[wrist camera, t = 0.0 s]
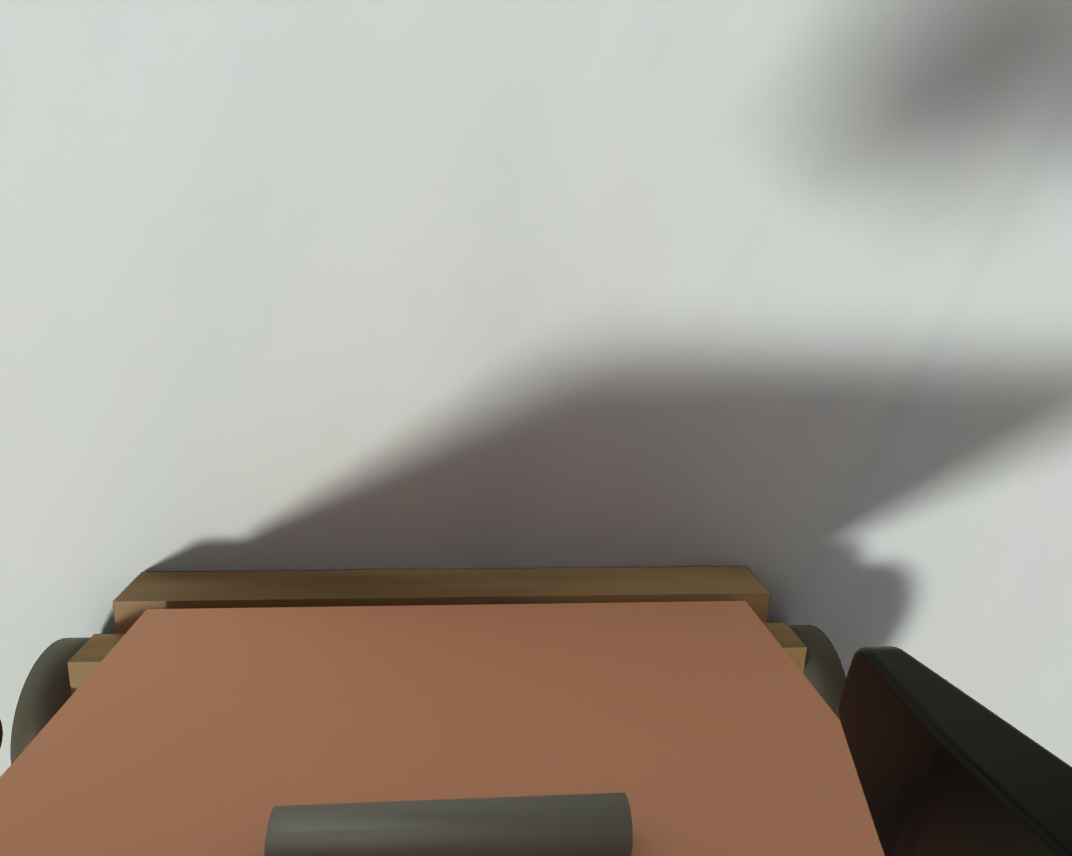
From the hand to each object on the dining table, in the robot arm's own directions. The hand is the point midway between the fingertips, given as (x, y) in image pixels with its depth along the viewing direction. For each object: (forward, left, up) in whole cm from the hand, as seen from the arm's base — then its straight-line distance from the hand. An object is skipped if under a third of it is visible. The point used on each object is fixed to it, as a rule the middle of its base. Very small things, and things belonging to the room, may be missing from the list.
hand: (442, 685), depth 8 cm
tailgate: (-4, -4, -13) cm, 15 cm away
